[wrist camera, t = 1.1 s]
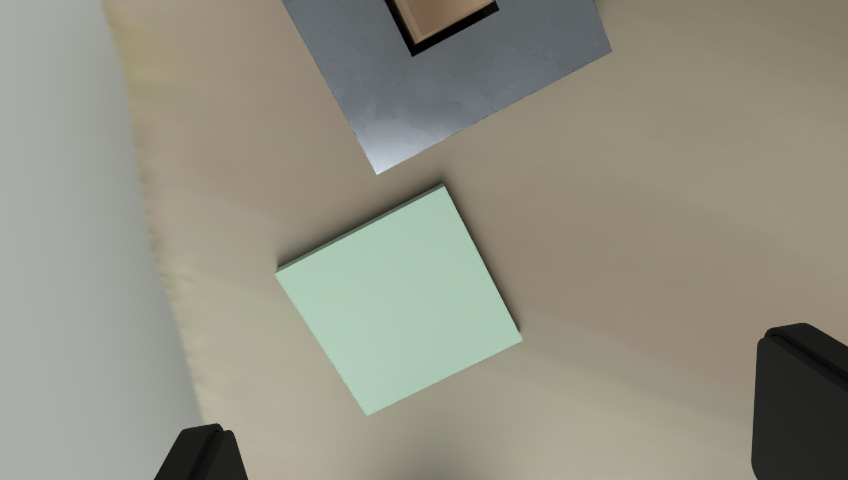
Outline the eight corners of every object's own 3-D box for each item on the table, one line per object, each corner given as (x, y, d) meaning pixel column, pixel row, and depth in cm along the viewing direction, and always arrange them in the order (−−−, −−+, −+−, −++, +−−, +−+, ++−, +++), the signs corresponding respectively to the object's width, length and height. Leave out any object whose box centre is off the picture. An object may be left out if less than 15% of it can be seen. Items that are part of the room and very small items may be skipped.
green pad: (442, 182, 34) (444, 186, 33) (519, 333, 37) (522, 340, 36) (277, 268, 34) (274, 274, 34) (367, 407, 38) (366, 416, 37)
